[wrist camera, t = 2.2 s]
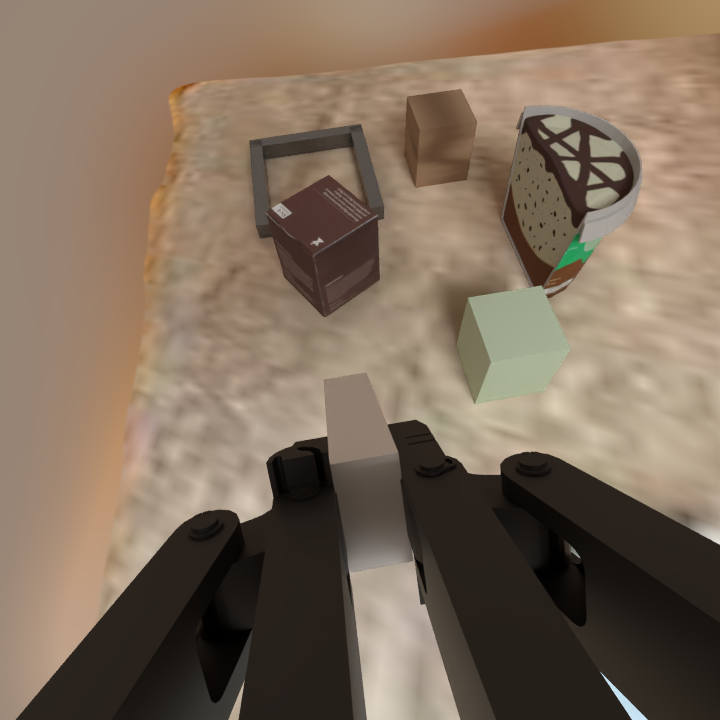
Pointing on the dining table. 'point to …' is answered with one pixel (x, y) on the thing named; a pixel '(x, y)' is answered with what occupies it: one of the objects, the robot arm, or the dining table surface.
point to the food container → (566, 191)
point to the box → (326, 244)
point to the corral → (307, 144)
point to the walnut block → (439, 137)
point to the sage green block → (510, 344)
